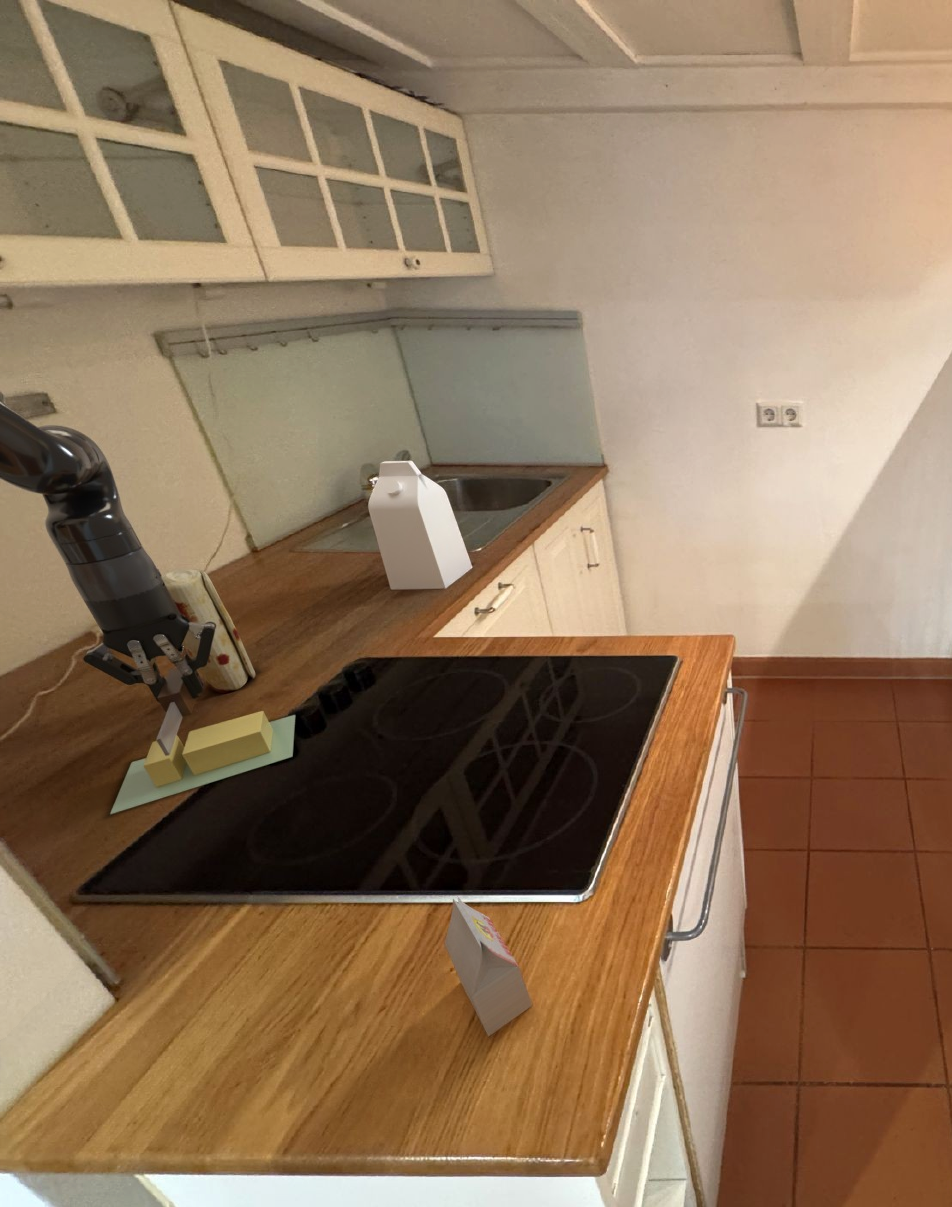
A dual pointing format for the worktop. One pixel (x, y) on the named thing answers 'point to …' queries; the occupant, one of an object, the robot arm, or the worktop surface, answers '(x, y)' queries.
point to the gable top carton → (485, 968)
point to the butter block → (228, 742)
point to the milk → (416, 529)
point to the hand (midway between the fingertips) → (184, 698)
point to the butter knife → (173, 708)
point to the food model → (227, 649)
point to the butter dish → (143, 789)
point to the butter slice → (165, 763)
